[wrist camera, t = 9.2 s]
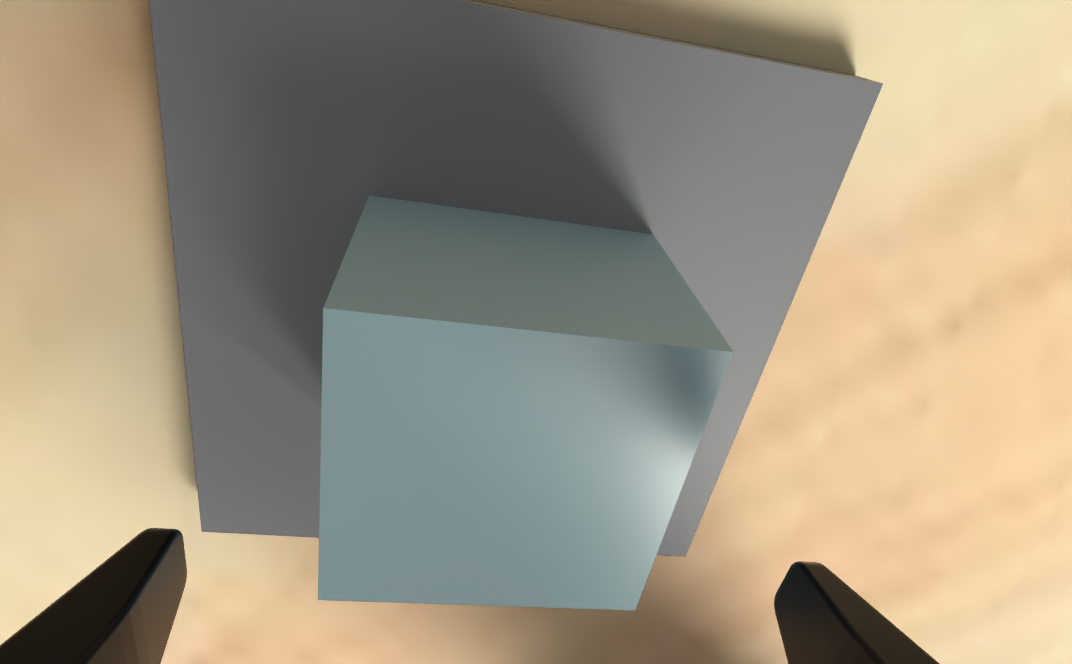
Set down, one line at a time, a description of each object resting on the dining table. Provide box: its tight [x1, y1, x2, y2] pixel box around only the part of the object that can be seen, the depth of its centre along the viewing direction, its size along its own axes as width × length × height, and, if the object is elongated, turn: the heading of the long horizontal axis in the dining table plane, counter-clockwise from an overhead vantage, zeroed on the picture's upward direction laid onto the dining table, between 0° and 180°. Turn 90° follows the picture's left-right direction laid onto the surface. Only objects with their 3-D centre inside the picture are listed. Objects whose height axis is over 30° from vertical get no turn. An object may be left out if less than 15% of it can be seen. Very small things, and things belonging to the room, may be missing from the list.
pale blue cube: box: [318, 195, 733, 610], centre depth 13 cm, size 6×6×5 cm
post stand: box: [149, 0, 883, 557], centre depth 14 cm, size 14×14×5 cm
